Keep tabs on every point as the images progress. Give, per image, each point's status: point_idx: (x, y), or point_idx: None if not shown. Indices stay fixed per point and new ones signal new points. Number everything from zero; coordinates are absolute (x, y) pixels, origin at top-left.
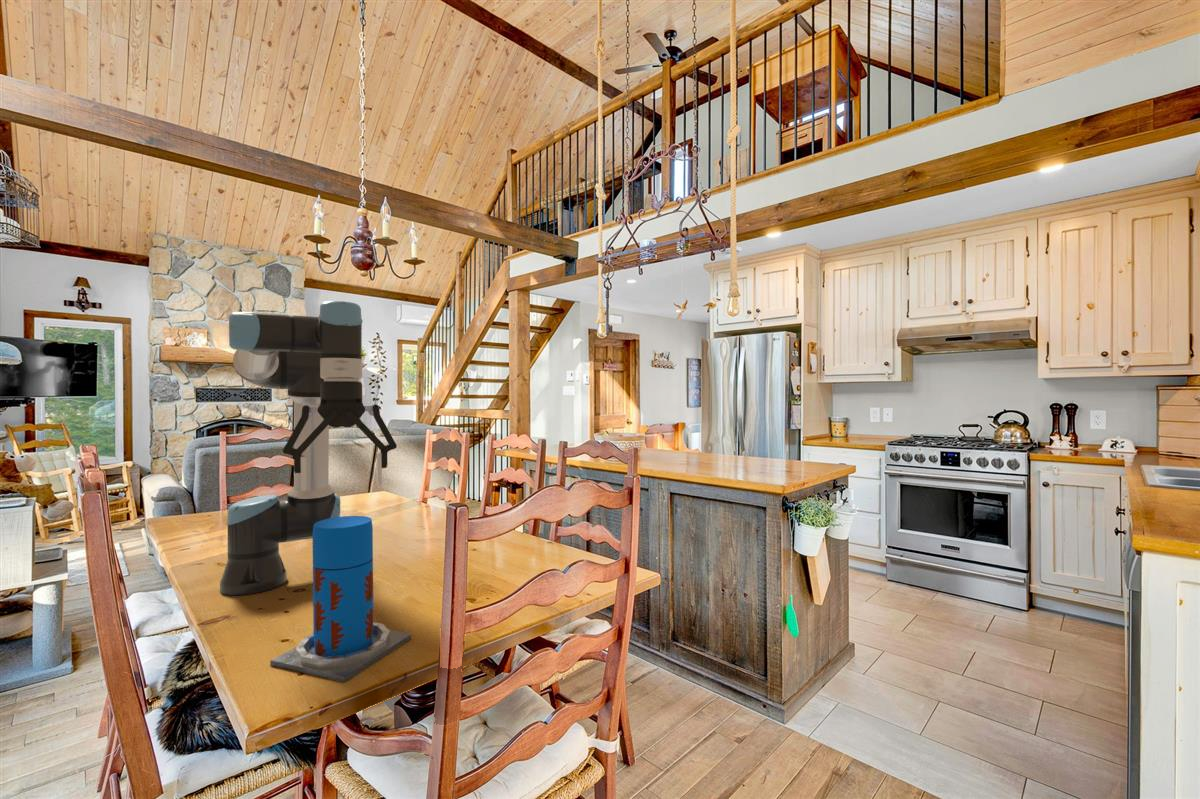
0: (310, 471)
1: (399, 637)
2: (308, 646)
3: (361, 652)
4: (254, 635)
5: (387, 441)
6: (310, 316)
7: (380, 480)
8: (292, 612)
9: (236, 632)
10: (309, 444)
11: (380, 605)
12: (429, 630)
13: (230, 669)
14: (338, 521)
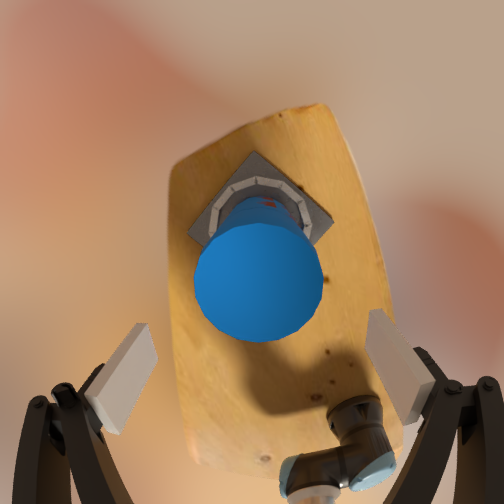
0: None
1: (199, 228)
2: None
3: (237, 183)
4: (354, 302)
5: (43, 424)
6: None
7: (133, 331)
8: (322, 348)
9: None
10: (426, 436)
11: (229, 337)
12: (169, 247)
13: (367, 228)
14: (269, 296)
